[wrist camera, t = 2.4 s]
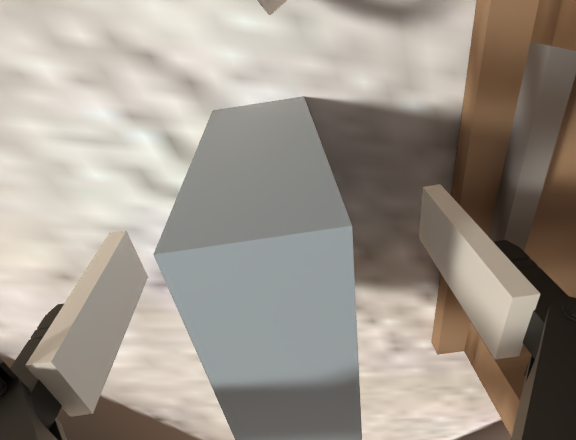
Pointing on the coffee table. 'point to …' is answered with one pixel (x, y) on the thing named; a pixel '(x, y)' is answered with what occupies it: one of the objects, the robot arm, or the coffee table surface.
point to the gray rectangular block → (267, 275)
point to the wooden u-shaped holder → (516, 165)
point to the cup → (271, 5)
